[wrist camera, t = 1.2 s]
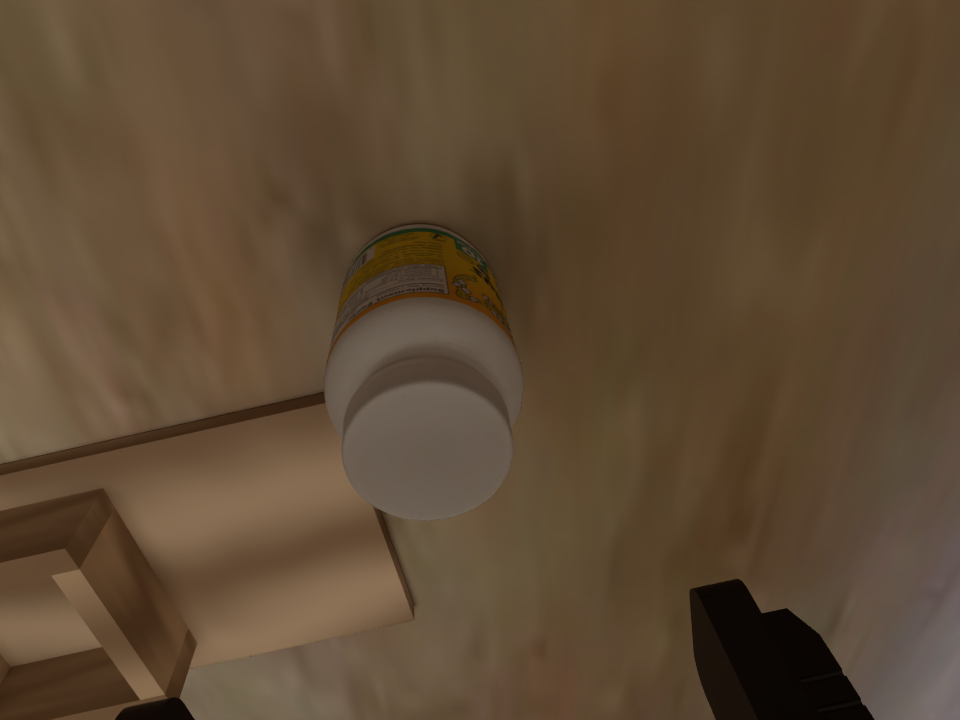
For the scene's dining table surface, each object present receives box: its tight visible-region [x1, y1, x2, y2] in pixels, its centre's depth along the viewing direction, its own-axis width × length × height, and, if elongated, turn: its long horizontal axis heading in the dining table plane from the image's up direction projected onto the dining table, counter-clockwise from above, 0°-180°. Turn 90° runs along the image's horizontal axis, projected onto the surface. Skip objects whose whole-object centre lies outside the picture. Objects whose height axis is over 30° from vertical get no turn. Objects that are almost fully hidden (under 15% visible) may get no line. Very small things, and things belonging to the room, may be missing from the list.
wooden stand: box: [0, 393, 414, 720], centre depth 27 cm, size 12×20×4 cm, turn 102°
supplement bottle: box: [324, 224, 523, 521], centre depth 20 cm, size 5×5×10 cm
